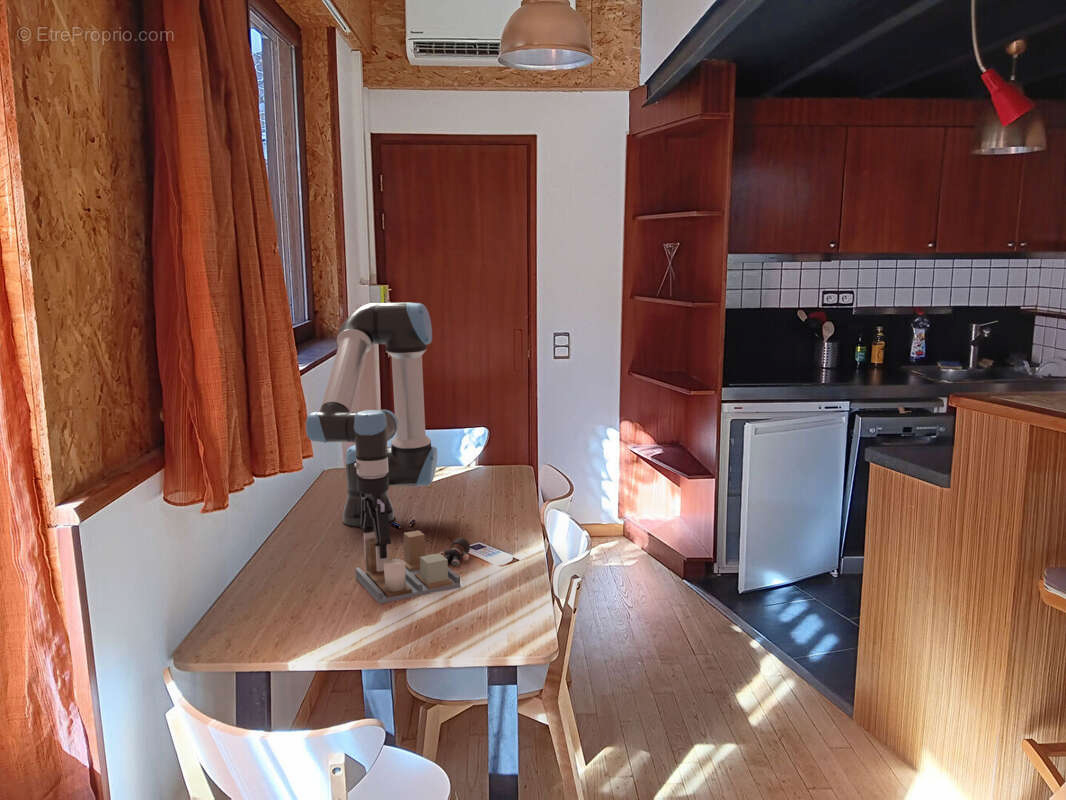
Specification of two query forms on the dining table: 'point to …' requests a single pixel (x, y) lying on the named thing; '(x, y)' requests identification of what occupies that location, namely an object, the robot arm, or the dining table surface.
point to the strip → (379, 576)
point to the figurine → (457, 551)
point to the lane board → (411, 573)
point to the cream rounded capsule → (394, 575)
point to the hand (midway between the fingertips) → (376, 563)
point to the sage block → (434, 568)
